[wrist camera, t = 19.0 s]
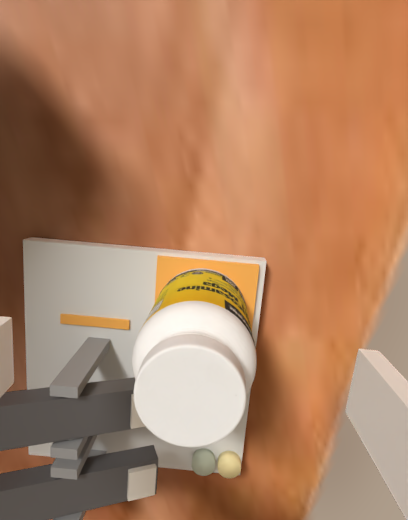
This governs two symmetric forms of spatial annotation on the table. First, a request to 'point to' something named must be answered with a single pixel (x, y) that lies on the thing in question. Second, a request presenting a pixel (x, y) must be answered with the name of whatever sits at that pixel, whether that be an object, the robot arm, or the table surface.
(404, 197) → the table surface
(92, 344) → the breaker panel
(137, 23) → the table surface
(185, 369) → the pill bottle
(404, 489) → the robot arm
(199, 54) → the table surface
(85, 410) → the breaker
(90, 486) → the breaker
